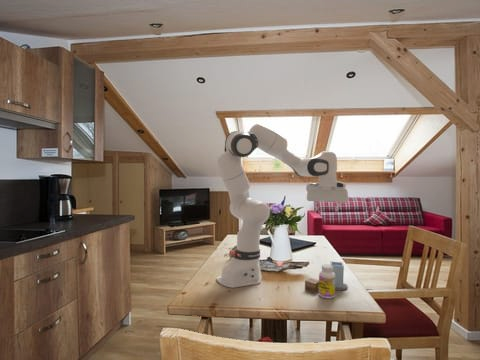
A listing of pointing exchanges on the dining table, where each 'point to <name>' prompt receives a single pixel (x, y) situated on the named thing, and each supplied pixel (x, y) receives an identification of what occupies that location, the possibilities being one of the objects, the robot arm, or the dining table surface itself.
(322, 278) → the supplement bottle
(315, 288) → the walnut box
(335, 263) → the blue-gray rectangular block
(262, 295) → the dining table surface
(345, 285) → the slate coaster
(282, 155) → the robot arm
